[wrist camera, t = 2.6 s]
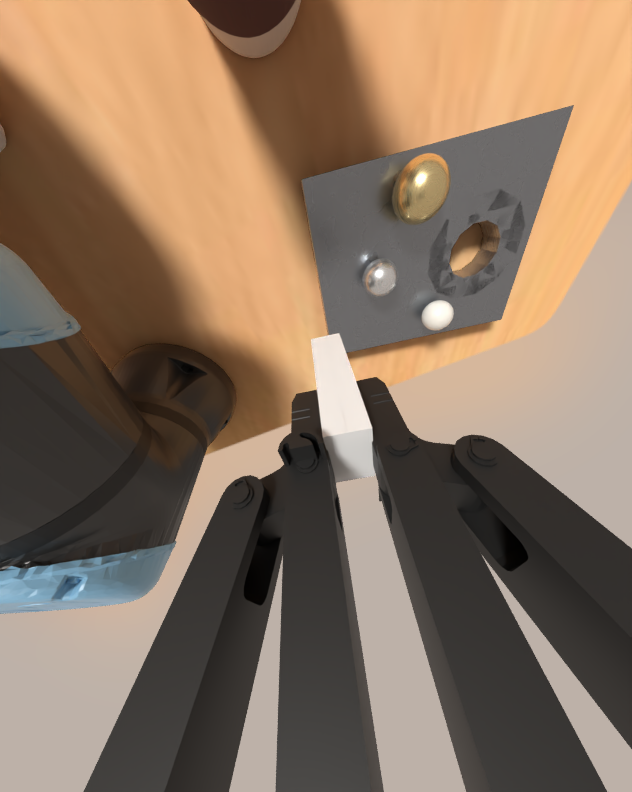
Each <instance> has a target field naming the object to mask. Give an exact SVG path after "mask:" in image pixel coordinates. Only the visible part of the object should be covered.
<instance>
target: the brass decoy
mask: <svg viewBox="0 0 632 792" xmlns="http://www.w3.org/2000/svg"><path fill="white" fill-rule="evenodd" d="M450 185H451V174H450V169H449V166H448V164H447V162H446V161H445V160H444V159H443V158H442V157H441V156H439V155H437V154H433V153H427V154H422V155H419V156H417V157H415V158H414V159H412V160H411V161H410V162H409V163H408V164H407V165H406V166H405V167H404V168H403V169H402V171H401V172H400V174H399V176H398V177H397V180H396V182H395V185H394V189H393V194H392V204H393V209H394V212H395V214H396V216H397V217H398V218H399V220H401V221H402V222H403V223H405V224H408V225H419V224H422V223H424V222H426V221H428V220H430V219H431V218H432V217H434V216H435V215H436V214H437V213H438V211H439V210H440V209H441V208H442V206H443V204H444V203H445V201H446V199H447V196H448V194H449V190H450Z"/></svg>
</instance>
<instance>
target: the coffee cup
mask: <svg viewBox="0 0 632 792" xmlns="http://www.w3.org/2000/svg"><path fill="white" fill-rule="evenodd" d="M188 1H189V3H190V4H191V5H192V6H193V7H194V8H195V9H196V10H197V12H198V13H199V14H200V15H201V17H202V18H203V20H204V21H205V23H206V25H207V26H208V27H209V29H210V30H211V31H212V33H213V34H214V35H215V36H216V37H217V38H218V39H219V40H220V41H221V42H222V43H223V44H224V45H225V46H226V47H228V48H229V49H230V50H232V51H233V52H235V53H237V54H239V55H242V56H244V57H250V58H260V57H263V56H266V55H268V54H270V53H272V52H273V51H275V50H276V49H277V48H278V47H279V46H280V45H281V44H282V43H283V41H284V40H285V39H286V37H287V36H288V34H289V32H290V30H291V28H292V26H293V24H294V22H295V19H296V17H297V13H298V10H299V7H300V3H301V0H188Z"/></svg>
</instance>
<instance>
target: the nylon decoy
mask: <svg viewBox="0 0 632 792" xmlns="http://www.w3.org/2000/svg"><path fill="white" fill-rule="evenodd" d="M453 315H454V311H453V307H452V306H451V304H449V303H448V302H446V301H443V300H437V301H434V302H431V303H430V304H428V305H427V306H426V307H425V309H424V310H423V312H422V323H423V325H424V326H425V327H426V328H428V329H430V330H441V329H443V328H445V327H446V326H448V325H449V324H450V322H451V321H452V319H453Z"/></svg>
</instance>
